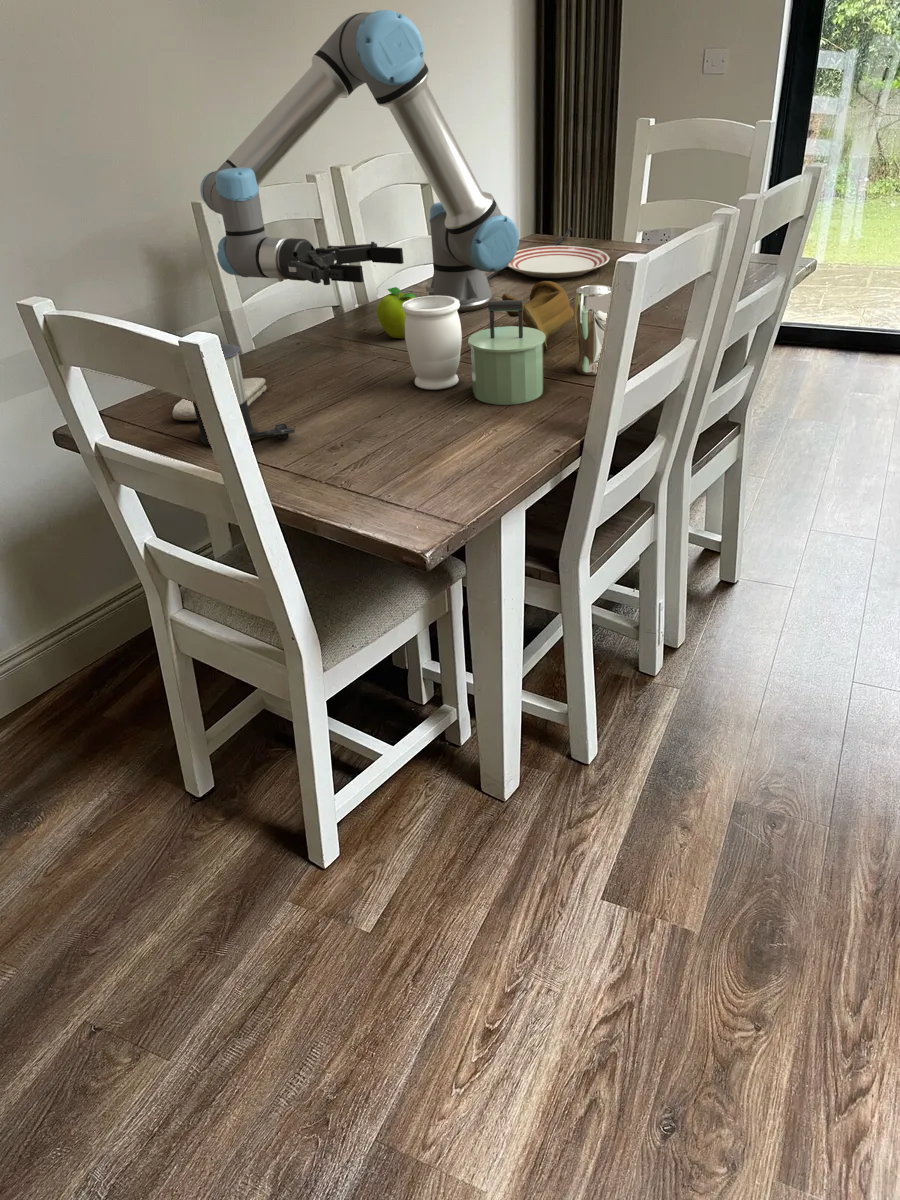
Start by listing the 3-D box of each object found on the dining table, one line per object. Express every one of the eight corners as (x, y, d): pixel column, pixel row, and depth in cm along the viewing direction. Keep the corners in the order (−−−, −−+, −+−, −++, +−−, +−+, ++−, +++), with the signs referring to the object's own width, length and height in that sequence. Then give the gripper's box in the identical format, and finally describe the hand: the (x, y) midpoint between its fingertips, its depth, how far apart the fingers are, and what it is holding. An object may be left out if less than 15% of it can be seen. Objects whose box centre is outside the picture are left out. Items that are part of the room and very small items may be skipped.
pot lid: (474, 332, 170) (472, 291, 166) (548, 331, 168) (548, 289, 164) (463, 356, 159) (460, 312, 155) (542, 355, 157) (542, 311, 153)
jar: (401, 379, 177) (394, 300, 169) (450, 370, 180) (445, 291, 172) (421, 396, 169) (415, 314, 161) (473, 386, 172) (469, 304, 164)
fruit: (408, 327, 206) (404, 281, 201) (430, 336, 200) (427, 289, 194) (372, 336, 202) (367, 290, 197) (394, 346, 196) (389, 298, 190)
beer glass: (589, 361, 179) (591, 282, 171) (618, 368, 175) (622, 287, 167) (566, 371, 176) (567, 290, 167) (596, 378, 171) (598, 296, 163)
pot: (478, 380, 174) (476, 330, 169) (545, 380, 172) (545, 329, 167) (469, 404, 164) (466, 352, 159) (540, 404, 162) (539, 351, 157)
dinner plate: (629, 264, 242) (630, 251, 240) (565, 288, 226) (565, 274, 224) (547, 253, 259) (547, 241, 257) (482, 275, 243) (481, 262, 241)
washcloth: (269, 388, 178) (267, 373, 176) (235, 424, 163) (232, 407, 161) (211, 388, 180) (208, 373, 178) (173, 424, 165) (169, 407, 163)
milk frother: (201, 430, 162) (182, 346, 154) (291, 417, 164) (277, 334, 156) (201, 462, 150) (181, 373, 142) (298, 448, 152) (284, 359, 144)
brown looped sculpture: (459, 312, 188) (523, 269, 199) (483, 371, 193) (544, 326, 205) (525, 295, 174) (590, 251, 185) (549, 359, 179) (610, 312, 191)
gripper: (329, 263, 188) (419, 269, 179) (251, 296, 170) (346, 304, 161) (324, 224, 184) (415, 228, 175) (243, 253, 166) (340, 259, 157)
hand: (382, 264), depth 168 cm, fingers open, 13 cm apart
